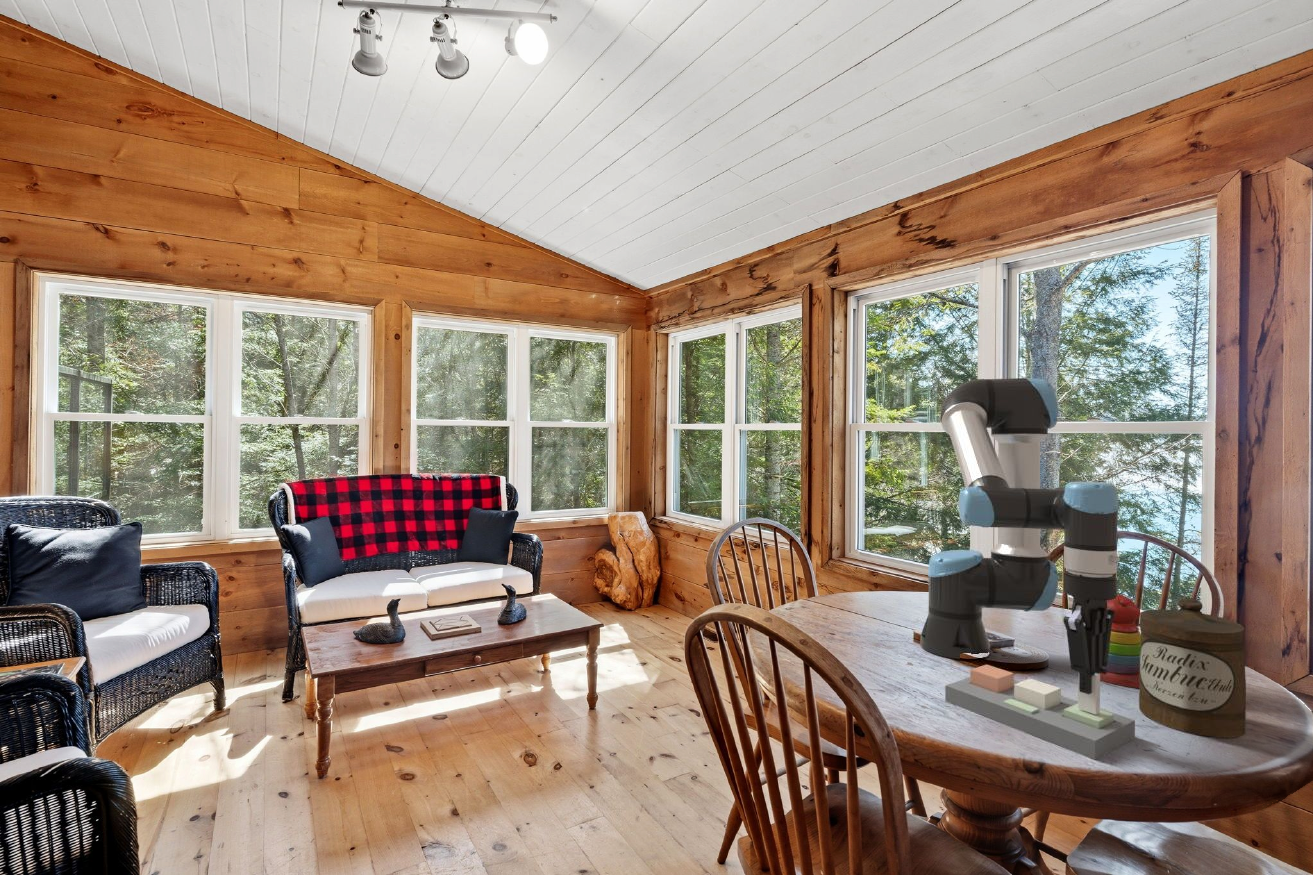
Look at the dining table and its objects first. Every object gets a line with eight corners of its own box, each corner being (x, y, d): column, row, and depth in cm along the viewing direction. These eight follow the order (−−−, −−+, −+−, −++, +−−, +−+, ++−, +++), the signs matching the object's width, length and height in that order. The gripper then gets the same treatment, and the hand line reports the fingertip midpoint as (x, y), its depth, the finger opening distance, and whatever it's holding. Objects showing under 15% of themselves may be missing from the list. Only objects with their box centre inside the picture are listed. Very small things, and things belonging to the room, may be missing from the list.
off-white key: (1014, 700, 117) (1014, 684, 117) (1030, 694, 120) (1030, 678, 120) (1044, 711, 113) (1045, 694, 113) (1060, 704, 116) (1060, 688, 116)
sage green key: (1063, 726, 110) (1063, 709, 110) (1079, 719, 113) (1079, 702, 113) (1098, 739, 106) (1098, 721, 106) (1113, 731, 109) (1113, 713, 108)
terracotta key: (970, 684, 125) (970, 669, 125) (986, 679, 128) (986, 664, 127) (997, 694, 120) (997, 678, 120) (1013, 688, 123) (1013, 673, 123)
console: (945, 700, 123) (945, 683, 123) (987, 686, 131) (987, 669, 131) (1094, 759, 101) (1095, 738, 101) (1134, 737, 109) (1135, 717, 109)
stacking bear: (1159, 690, 129) (1160, 602, 129) (1103, 686, 131) (1104, 599, 131) (1131, 670, 140) (1132, 589, 140) (1079, 667, 142) (1080, 587, 142)
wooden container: (1127, 715, 117) (1128, 596, 117) (1153, 695, 126) (1154, 584, 126) (1234, 747, 106) (1235, 614, 105) (1254, 723, 115) (1255, 600, 114)
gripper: (1095, 581, 103) (1094, 728, 103) (1132, 572, 109) (1131, 710, 109) (1046, 572, 109) (1045, 710, 109) (1084, 564, 116) (1083, 694, 116)
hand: (1088, 710), depth 109 cm, fingers closed
